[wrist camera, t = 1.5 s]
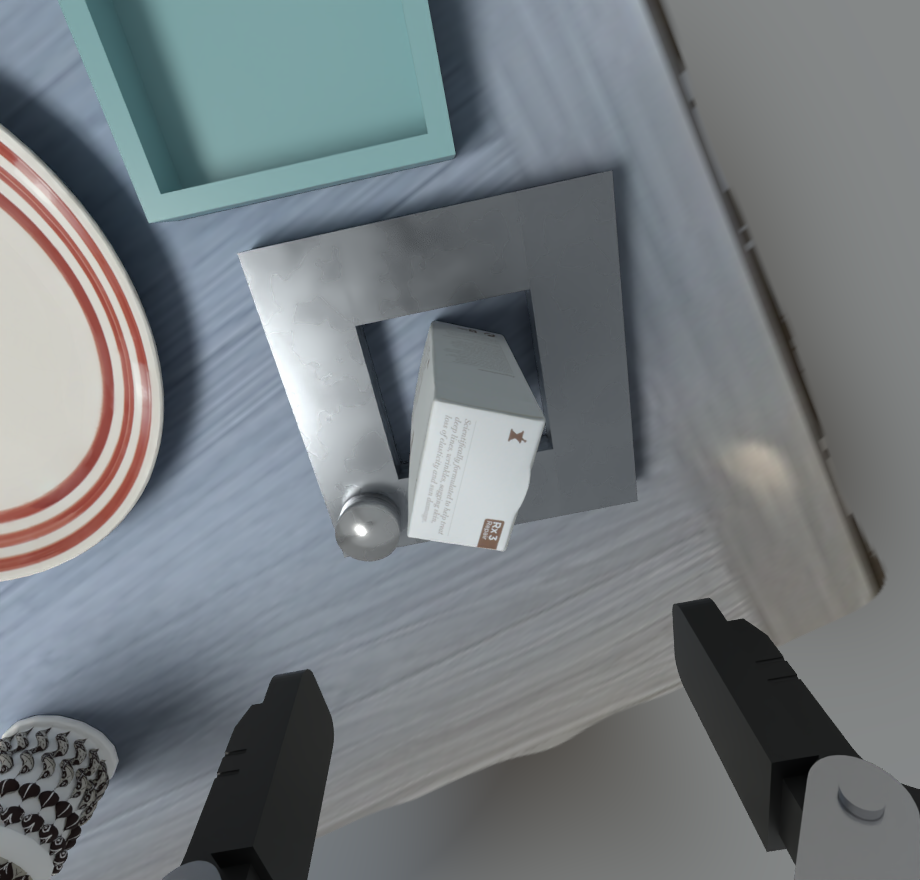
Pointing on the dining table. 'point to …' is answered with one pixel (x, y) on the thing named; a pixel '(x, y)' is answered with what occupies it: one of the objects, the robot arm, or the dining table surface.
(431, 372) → the skincare box
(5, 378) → the dinner plate
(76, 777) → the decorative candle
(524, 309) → the dining table surface
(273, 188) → the tray
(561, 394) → the socket block
